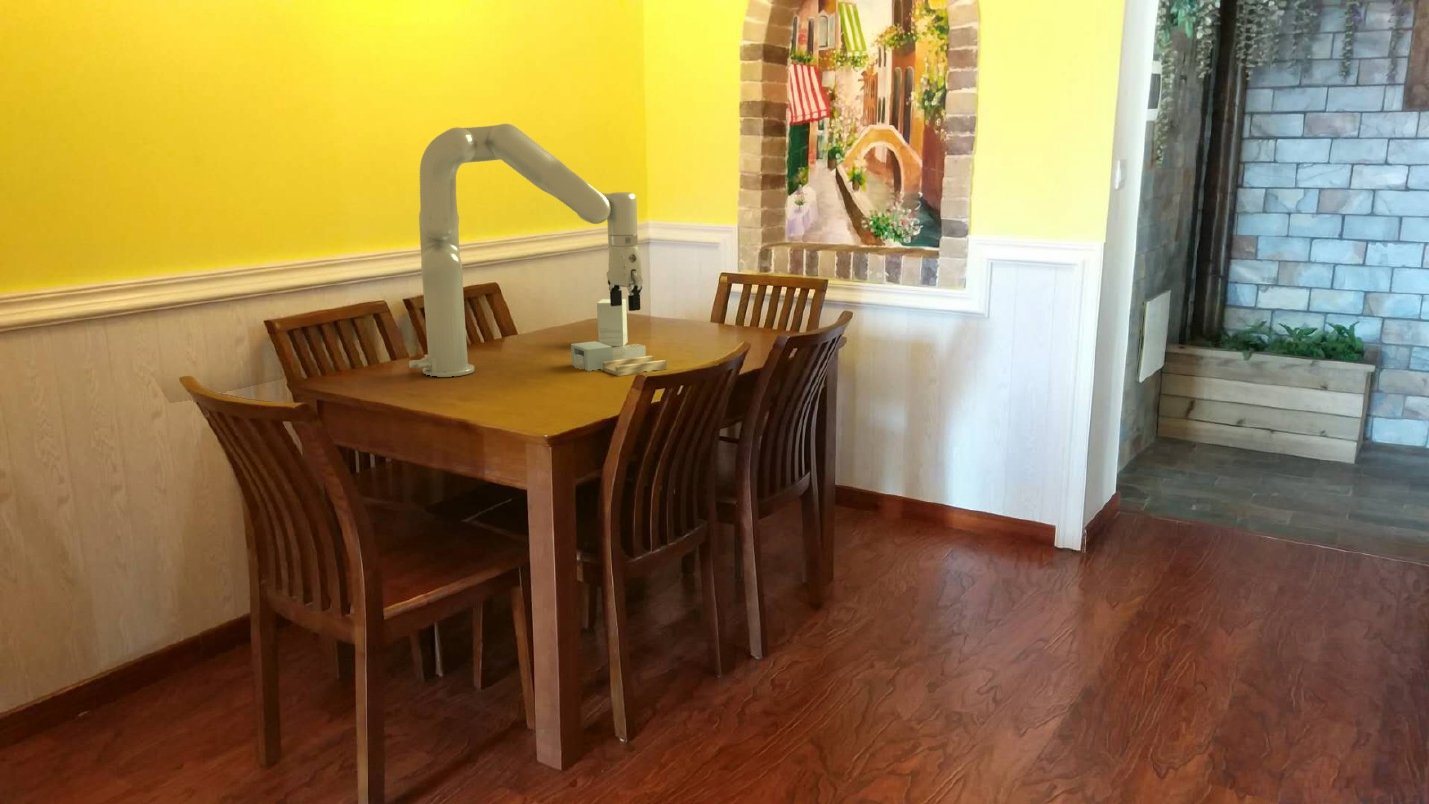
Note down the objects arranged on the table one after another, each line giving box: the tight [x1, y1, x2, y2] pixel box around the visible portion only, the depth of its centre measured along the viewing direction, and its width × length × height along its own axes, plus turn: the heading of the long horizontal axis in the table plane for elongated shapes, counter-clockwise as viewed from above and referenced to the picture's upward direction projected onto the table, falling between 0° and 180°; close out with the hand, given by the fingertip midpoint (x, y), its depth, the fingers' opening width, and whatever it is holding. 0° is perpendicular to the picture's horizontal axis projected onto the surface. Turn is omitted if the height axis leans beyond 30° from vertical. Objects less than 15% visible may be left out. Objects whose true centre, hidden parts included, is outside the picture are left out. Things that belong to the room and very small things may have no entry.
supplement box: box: [596, 298, 629, 347], centre depth 295 cm, size 7×7×13 cm
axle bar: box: [574, 343, 647, 370], centre depth 271 cm, size 20×4×4 cm, turn 132°
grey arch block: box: [570, 341, 613, 372], centre depth 267 cm, size 7×9×6 cm
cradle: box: [602, 355, 668, 377], centre depth 263 cm, size 14×8×2 cm, turn 124°
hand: (625, 308), depth 269 cm, fingers open, 9 cm apart
